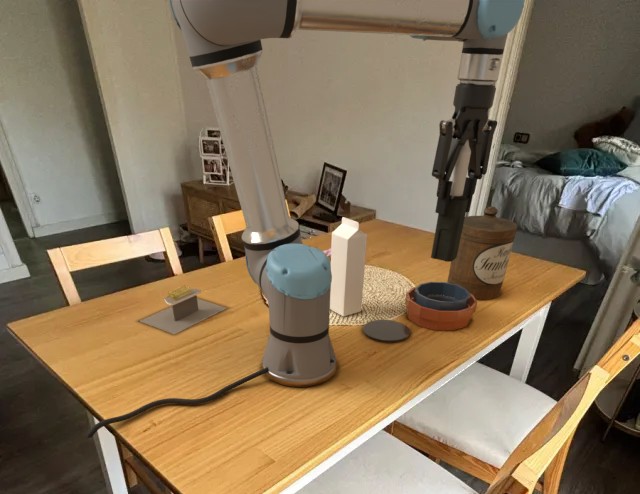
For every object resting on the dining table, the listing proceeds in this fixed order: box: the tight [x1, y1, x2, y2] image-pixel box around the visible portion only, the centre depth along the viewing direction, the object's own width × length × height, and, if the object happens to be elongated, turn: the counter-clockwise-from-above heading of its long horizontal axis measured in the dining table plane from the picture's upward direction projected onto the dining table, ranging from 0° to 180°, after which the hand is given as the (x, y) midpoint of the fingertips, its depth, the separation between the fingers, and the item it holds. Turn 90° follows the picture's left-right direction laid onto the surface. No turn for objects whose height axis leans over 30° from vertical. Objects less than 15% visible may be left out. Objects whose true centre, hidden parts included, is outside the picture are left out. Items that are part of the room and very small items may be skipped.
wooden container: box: [446, 205, 518, 301], centre depth 129 cm, size 15×15×22 cm
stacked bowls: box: [404, 281, 478, 331], centre depth 119 cm, size 17×17×6 cm
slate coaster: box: [362, 319, 411, 344], centre depth 113 cm, size 11×11×1 cm
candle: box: [430, 139, 471, 263], centre depth 104 cm, size 5×5×25 cm
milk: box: [330, 216, 368, 318], centre depth 116 cm, size 6×6×22 cm
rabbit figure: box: [322, 247, 331, 259], centre depth 153 cm, size 6×6×15 cm
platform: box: [139, 284, 227, 335], centre depth 116 cm, size 12×18×7 cm, turn 147°
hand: (452, 211), depth 105 cm, fingers closed on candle, 6 cm apart
